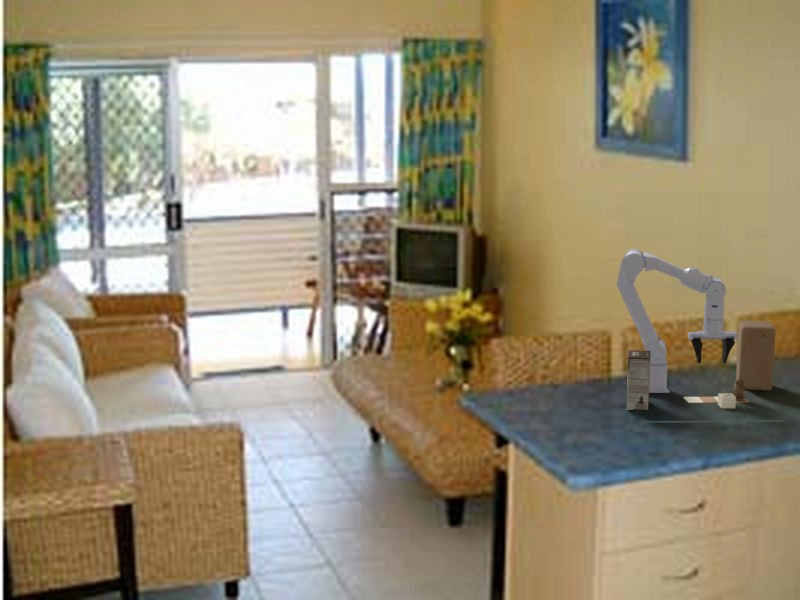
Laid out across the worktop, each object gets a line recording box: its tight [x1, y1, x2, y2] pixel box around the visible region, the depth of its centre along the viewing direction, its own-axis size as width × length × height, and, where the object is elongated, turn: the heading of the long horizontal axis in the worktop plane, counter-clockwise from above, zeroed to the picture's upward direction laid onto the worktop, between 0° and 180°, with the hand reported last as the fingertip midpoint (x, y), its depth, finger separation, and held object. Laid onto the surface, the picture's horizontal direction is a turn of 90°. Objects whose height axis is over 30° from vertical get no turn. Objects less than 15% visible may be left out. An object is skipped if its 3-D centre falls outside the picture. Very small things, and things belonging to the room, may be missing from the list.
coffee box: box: [626, 349, 651, 411], centre depth 327 cm, size 9×6×16 cm
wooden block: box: [735, 320, 777, 392], centre depth 348 cm, size 10×10×20 cm
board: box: [683, 396, 750, 404], centre depth 334 cm, size 18×6×1 cm, turn 91°
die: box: [717, 392, 737, 409], centre depth 326 cm, size 4×4×4 cm
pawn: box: [733, 378, 746, 401], centre depth 333 cm, size 4×4×6 cm
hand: (711, 362), depth 340 cm, fingers open, 7 cm apart
